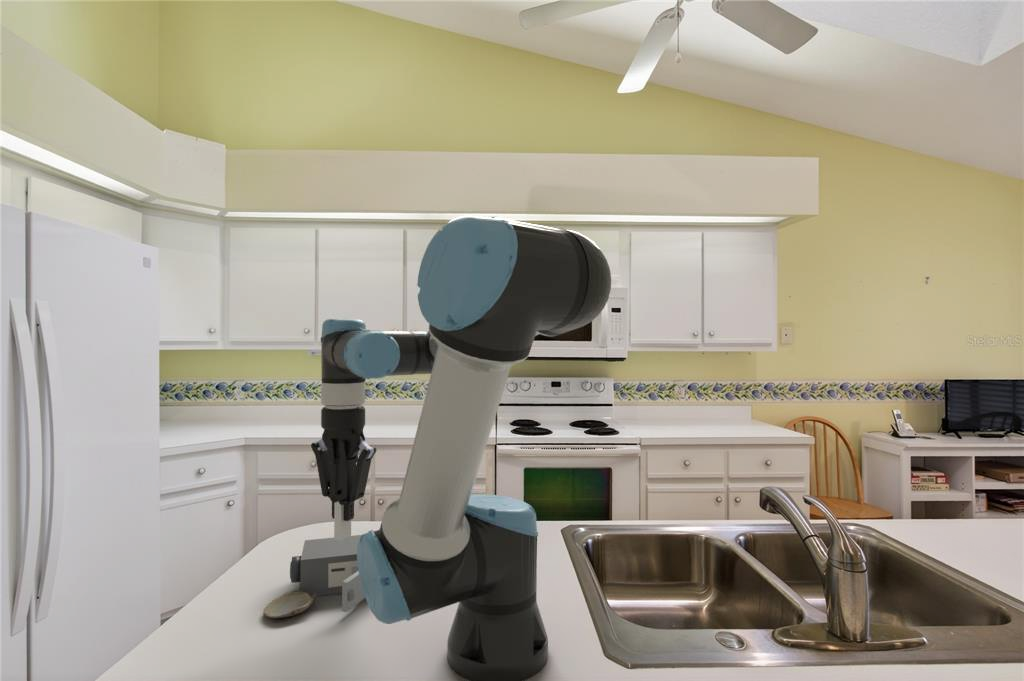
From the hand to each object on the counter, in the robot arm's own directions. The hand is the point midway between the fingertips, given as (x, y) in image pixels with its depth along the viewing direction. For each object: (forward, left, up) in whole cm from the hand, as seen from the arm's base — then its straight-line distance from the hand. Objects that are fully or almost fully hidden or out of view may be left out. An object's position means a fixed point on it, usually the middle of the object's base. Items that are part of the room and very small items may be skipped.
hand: (342, 537), depth 98 cm
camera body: (+9, 0, -12) cm, 15 cm away
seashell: (-1, +9, -12) cm, 15 cm away
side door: (-1, -4, -11) cm, 11 cm away
